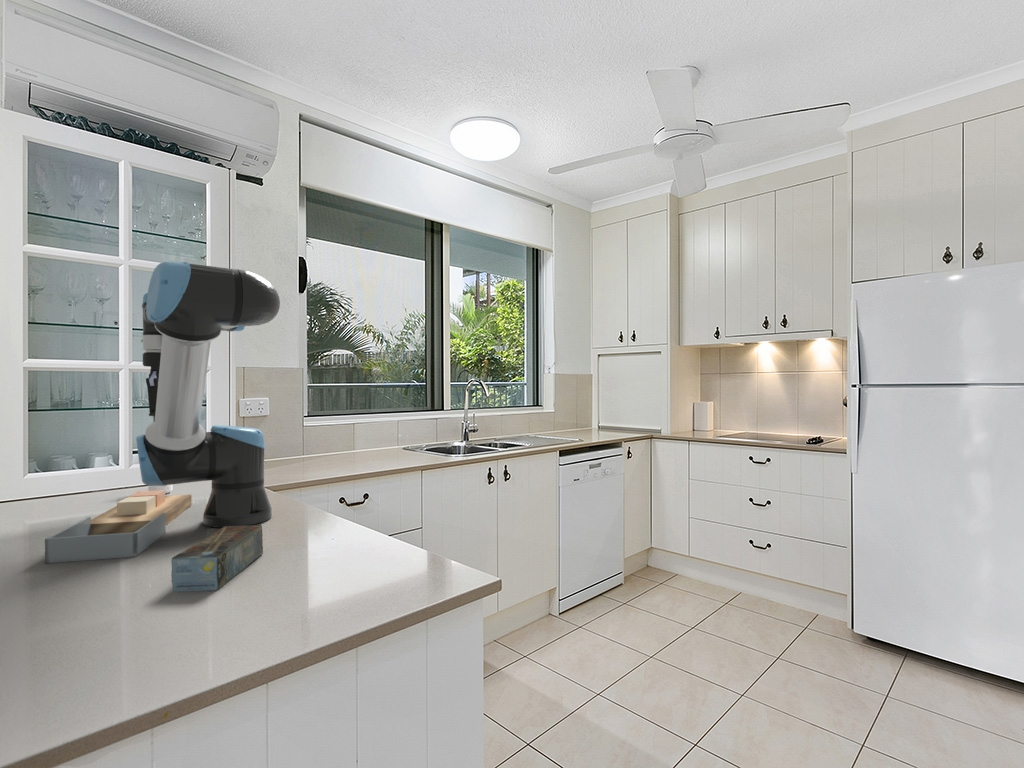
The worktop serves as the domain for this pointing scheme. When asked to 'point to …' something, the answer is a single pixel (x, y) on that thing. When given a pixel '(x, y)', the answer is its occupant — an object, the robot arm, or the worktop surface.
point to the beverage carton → (216, 558)
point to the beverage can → (161, 488)
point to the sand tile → (136, 505)
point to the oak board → (139, 516)
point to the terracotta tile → (159, 495)
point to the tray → (100, 542)
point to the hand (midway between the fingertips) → (159, 439)
